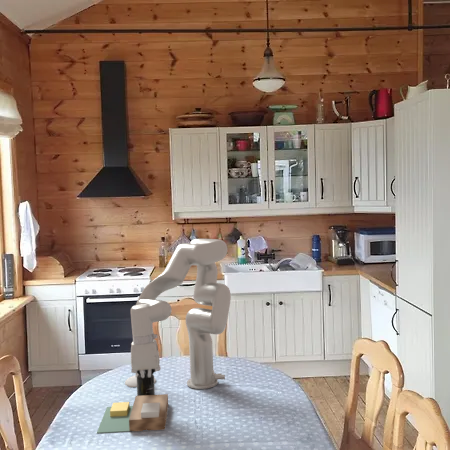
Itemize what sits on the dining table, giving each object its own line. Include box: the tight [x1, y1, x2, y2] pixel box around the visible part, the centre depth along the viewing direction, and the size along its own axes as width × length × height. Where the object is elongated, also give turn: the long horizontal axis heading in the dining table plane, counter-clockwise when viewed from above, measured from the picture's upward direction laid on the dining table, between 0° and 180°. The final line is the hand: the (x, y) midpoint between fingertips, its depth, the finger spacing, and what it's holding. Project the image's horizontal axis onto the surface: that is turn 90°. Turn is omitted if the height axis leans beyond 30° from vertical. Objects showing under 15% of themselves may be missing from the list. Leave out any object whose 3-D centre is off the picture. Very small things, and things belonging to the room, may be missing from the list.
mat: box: [96, 405, 133, 434], centre depth 209 cm, size 12×22×1 cm, turn 2°
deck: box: [129, 393, 169, 432], centre depth 209 cm, size 12×22×4 cm, turn 2°
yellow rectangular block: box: [110, 401, 131, 417], centre depth 215 cm, size 6×8×2 cm
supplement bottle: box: [136, 370, 156, 396], centre depth 228 cm, size 7×7×12 cm
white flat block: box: [141, 403, 160, 418], centre depth 203 cm, size 6×8×2 cm
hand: (147, 386), depth 215 cm, fingers closed
